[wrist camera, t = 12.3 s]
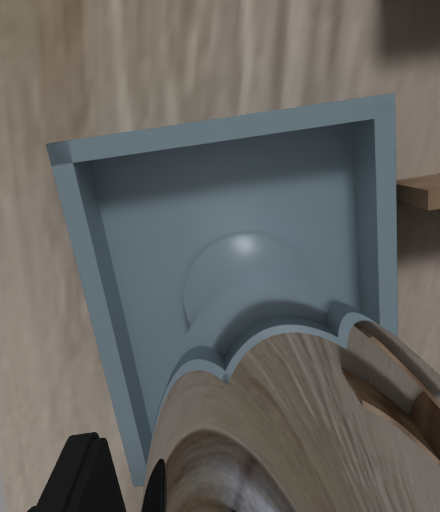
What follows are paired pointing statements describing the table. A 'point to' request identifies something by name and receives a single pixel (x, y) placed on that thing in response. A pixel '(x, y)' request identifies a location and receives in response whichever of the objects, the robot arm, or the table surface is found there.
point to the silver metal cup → (289, 398)
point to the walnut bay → (419, 192)
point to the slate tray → (222, 226)
